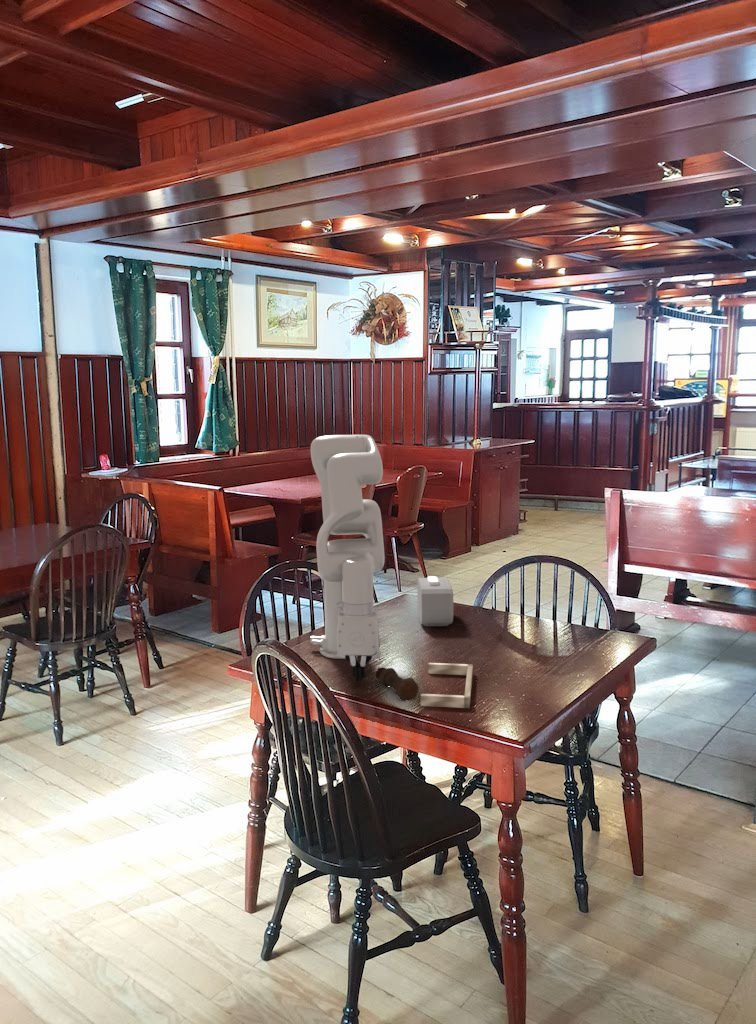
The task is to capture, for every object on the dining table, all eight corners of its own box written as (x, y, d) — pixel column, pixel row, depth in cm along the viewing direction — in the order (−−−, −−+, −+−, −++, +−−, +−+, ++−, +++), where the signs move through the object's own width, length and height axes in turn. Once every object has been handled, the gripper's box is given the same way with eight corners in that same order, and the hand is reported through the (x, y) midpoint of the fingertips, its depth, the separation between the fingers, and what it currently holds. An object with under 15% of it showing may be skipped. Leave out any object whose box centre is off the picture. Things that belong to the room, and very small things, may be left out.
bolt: (383, 686, 206) (411, 705, 193) (367, 680, 204) (395, 698, 190) (393, 665, 206) (422, 682, 193) (377, 658, 204) (405, 675, 191)
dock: (420, 705, 189) (420, 695, 188) (428, 671, 210) (428, 662, 210) (469, 708, 187) (469, 697, 187) (472, 673, 209) (472, 664, 208)
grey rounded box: (453, 630, 245) (453, 587, 243) (421, 630, 245) (421, 587, 243) (446, 611, 266) (446, 571, 264) (417, 611, 266) (417, 571, 263)
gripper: (324, 611, 196) (326, 684, 199) (386, 613, 194) (387, 687, 197) (331, 603, 203) (332, 673, 206) (390, 604, 201) (391, 676, 204)
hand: (359, 679), depth 202 cm, fingers closed
